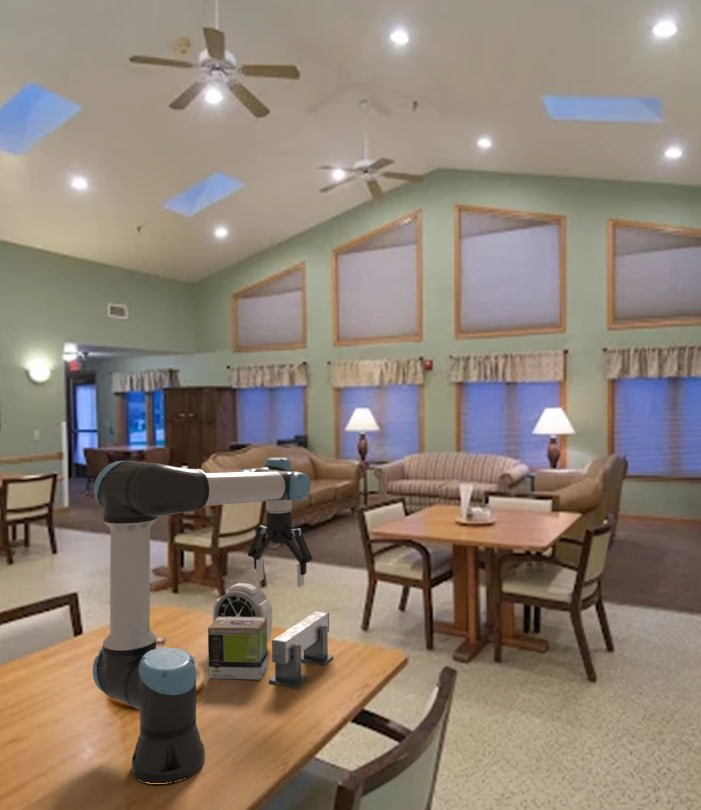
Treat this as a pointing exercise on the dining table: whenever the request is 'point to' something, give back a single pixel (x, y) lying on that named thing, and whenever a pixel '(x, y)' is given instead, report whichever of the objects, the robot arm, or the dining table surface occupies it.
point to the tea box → (237, 648)
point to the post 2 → (318, 650)
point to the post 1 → (289, 671)
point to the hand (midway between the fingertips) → (280, 583)
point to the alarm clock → (244, 604)
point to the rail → (299, 636)
